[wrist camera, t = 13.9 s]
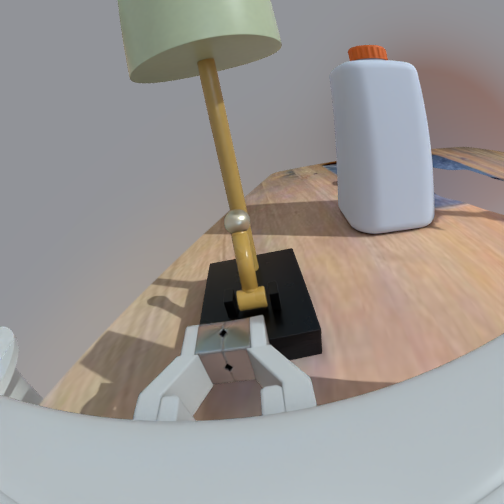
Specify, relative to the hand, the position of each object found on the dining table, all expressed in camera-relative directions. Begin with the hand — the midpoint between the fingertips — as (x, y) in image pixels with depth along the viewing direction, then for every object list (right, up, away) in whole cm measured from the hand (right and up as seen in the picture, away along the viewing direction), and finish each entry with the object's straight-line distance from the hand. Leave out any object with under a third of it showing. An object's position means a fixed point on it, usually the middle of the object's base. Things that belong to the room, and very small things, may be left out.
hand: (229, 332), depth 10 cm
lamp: (+1, -2, +20) cm, 20 cm away
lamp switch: (+1, -1, +13) cm, 13 cm away
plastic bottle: (+23, +9, +33) cm, 41 cm away
